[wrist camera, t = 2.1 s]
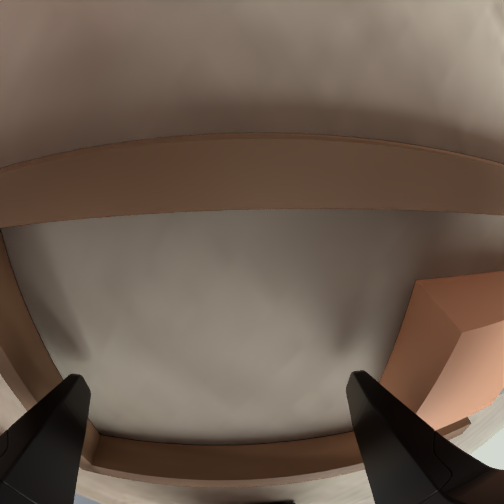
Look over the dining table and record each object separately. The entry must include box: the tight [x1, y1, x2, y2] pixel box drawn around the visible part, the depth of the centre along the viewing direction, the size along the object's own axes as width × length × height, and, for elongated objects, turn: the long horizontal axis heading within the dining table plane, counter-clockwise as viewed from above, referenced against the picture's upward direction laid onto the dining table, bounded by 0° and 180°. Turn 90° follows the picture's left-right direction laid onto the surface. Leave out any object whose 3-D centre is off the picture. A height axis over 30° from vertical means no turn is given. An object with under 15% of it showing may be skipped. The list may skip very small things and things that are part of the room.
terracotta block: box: [379, 271, 504, 431], centre depth 9 cm, size 6×6×3 cm
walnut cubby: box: [0, 133, 504, 488], centre depth 9 cm, size 14×21×2 cm
